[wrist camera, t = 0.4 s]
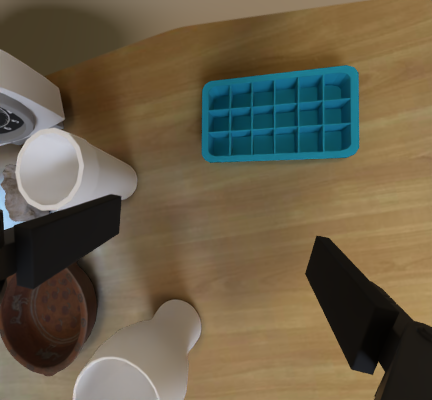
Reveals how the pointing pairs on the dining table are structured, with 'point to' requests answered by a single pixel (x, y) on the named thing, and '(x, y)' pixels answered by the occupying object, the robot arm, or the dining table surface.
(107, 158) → the foam cup
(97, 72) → the dining table surface
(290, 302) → the dining table surface
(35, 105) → the alarm clock
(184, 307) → the cup
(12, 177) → the stone
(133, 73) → the dining table surface
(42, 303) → the dish
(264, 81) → the ice cube tray
